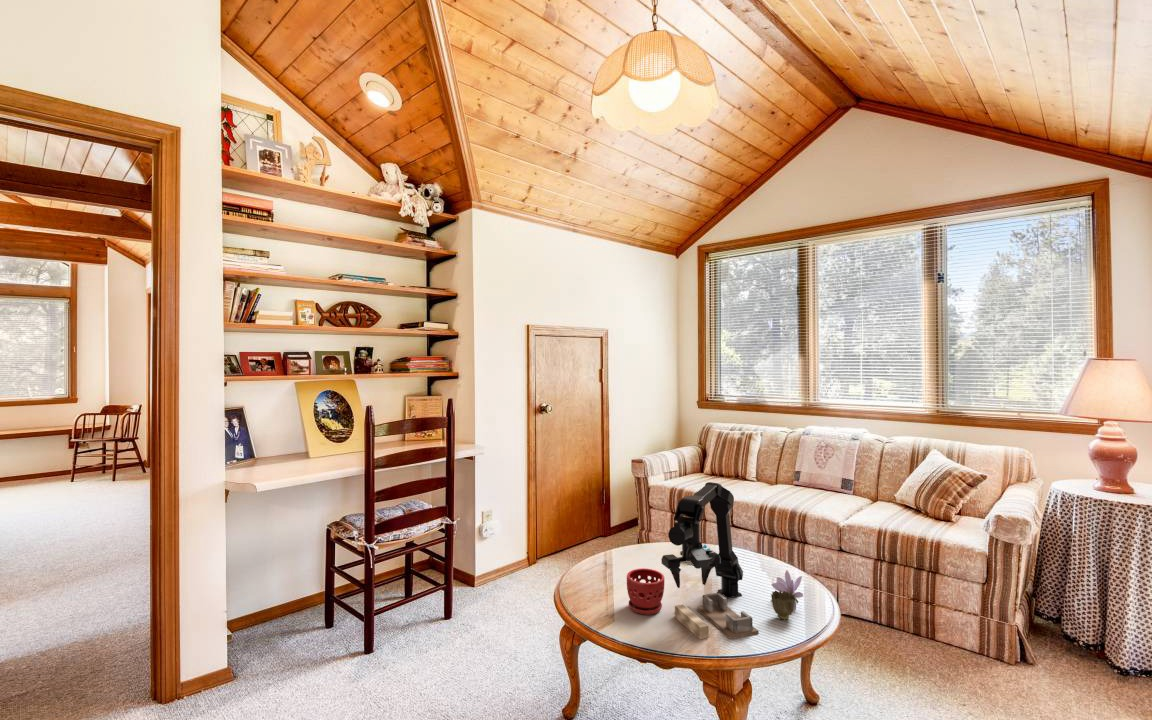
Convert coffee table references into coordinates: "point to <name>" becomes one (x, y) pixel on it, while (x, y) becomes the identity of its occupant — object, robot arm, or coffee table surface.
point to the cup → (783, 604)
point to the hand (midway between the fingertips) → (691, 586)
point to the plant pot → (645, 591)
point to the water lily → (788, 586)
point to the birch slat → (691, 621)
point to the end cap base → (726, 616)
